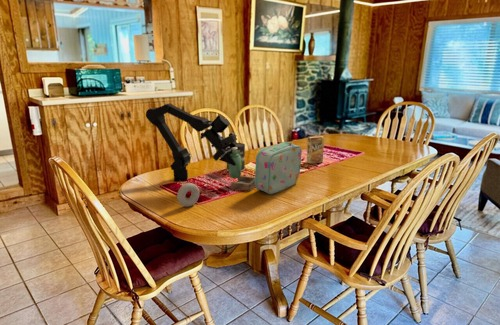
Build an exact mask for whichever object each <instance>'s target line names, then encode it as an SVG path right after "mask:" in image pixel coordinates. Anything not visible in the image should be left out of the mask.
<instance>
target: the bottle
mask: <svg viewBox="0 0 500 325" xmlns="http://www.w3.org/2000/svg"><path fill="white" fill-rule="evenodd" d="M237 149H238V148H237V147H233V148H232V154H231V155H230V156H231V158H232V159H233V160H234V162H235V163H236V165H235V166H233V165H231V164H229V171H228V175H229V176H228V177H229V178H231V179H238V178H240V177H241V176H242V171H241V156H240V155H239V154H238V153H237Z"/></svg>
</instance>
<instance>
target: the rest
mask: <svg viewBox="0 0 500 325" xmlns="http://www.w3.org/2000/svg"><path fill="white" fill-rule="evenodd" d="M253 187H255V176H254V177H253V176H244V175H241V177H240V178H237V181H232V182H231V183H230V188H231V189H232V190H239V189H240V190H241V191H249V192H250V191H252V190H253V189H254V188H253Z"/></svg>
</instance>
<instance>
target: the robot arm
mask: <svg viewBox="0 0 500 325" xmlns="http://www.w3.org/2000/svg"><path fill="white" fill-rule="evenodd" d="M167 114H169V115H171V116H173V117H175V118H177V119H180V120H181V121H184V122H185V123H187V124H189V126H190V127H191V128H193V129H194V130H195V131H196V132H201V133H200V140H203V139H204V138H206V140H207V141H208V142H209V143H210V144H211V148H214V149H215V150H216V152H215V153H214V154H213V156H212V159H214V161H215V162H216V161H218V160H219V161H221V162H223V163H226V164H227V163H229V164H231V165H233V166H235V165H236V163H235V162H234V160H233V159H232V158H231V156H230V155H231V154H232V148H233V147H236V145H237V143H238V142H237V140H238V138H237V134H236V133H234V132H230V133H229V134H228V136H226V137H225V136H223V135H222V136H221V135H220V134H222V133H223V132H224V131H225V130H226V129H227V128H228V127H229V126H231V124H230V121H229V120H228V119H227V118H226V117H224V116H222V115H221V114H218V115H217V116H216V117H215V119H214V120H208V119H207V118H206V117H204V116H200V115H194V114H192V113H190V112H188V111H186V110H184V109H182V108H180V107H178V106H176V105H173V103H166V104H164V105H161V106H159V107H157V106H156V107H151V108H149V109H147V110H146V112H145V117H146V119H147V120H148V121H149V123H150V124H152V125H154V127H156V129H157V130H158V131H159V133H160V135H161V137H162V138H163V140H164V141H165V142H166V144H167V146H168V148H169V149H170V151H171V153H172V160H173V163H171V165H170V169H171V171H173V182H186V181H188V179H189V173H188V168H187V167H188V166H189V164H190V162H191V160H192V158H191V155H192V154H191V153H190V152H189V151H188V148H187V147H185V148H183V147H182V146H181V145H180V144H179V142H178V140H177V139H176V137H175V136H174V133H173V132H172V131H171V129H170V127H169V126H168V124H167V123H166V116H165V115H167ZM203 131H204V132H203Z"/></svg>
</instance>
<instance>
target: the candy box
mask: <svg viewBox="0 0 500 325" xmlns="http://www.w3.org/2000/svg"><path fill="white" fill-rule="evenodd" d="M324 147H325V137H324V136H323V135H315V136H307V148H306V162H307V163H309V164H316V163H323V162H324V150H325V149H324Z"/></svg>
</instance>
